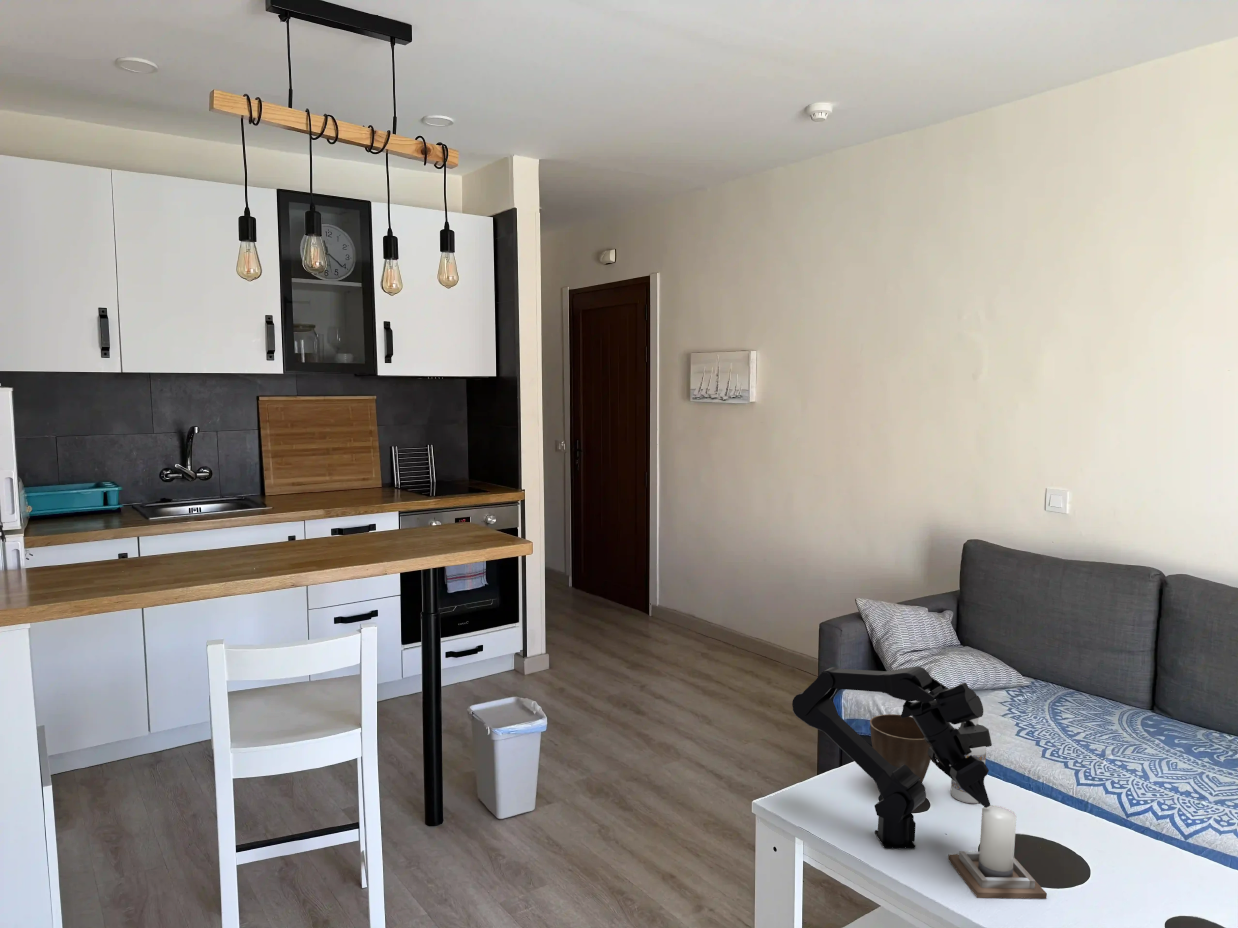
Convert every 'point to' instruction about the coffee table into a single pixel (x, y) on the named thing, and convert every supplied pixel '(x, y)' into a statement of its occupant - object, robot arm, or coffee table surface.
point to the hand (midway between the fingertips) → (979, 798)
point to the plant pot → (900, 742)
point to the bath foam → (957, 790)
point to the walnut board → (995, 879)
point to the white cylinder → (997, 842)
